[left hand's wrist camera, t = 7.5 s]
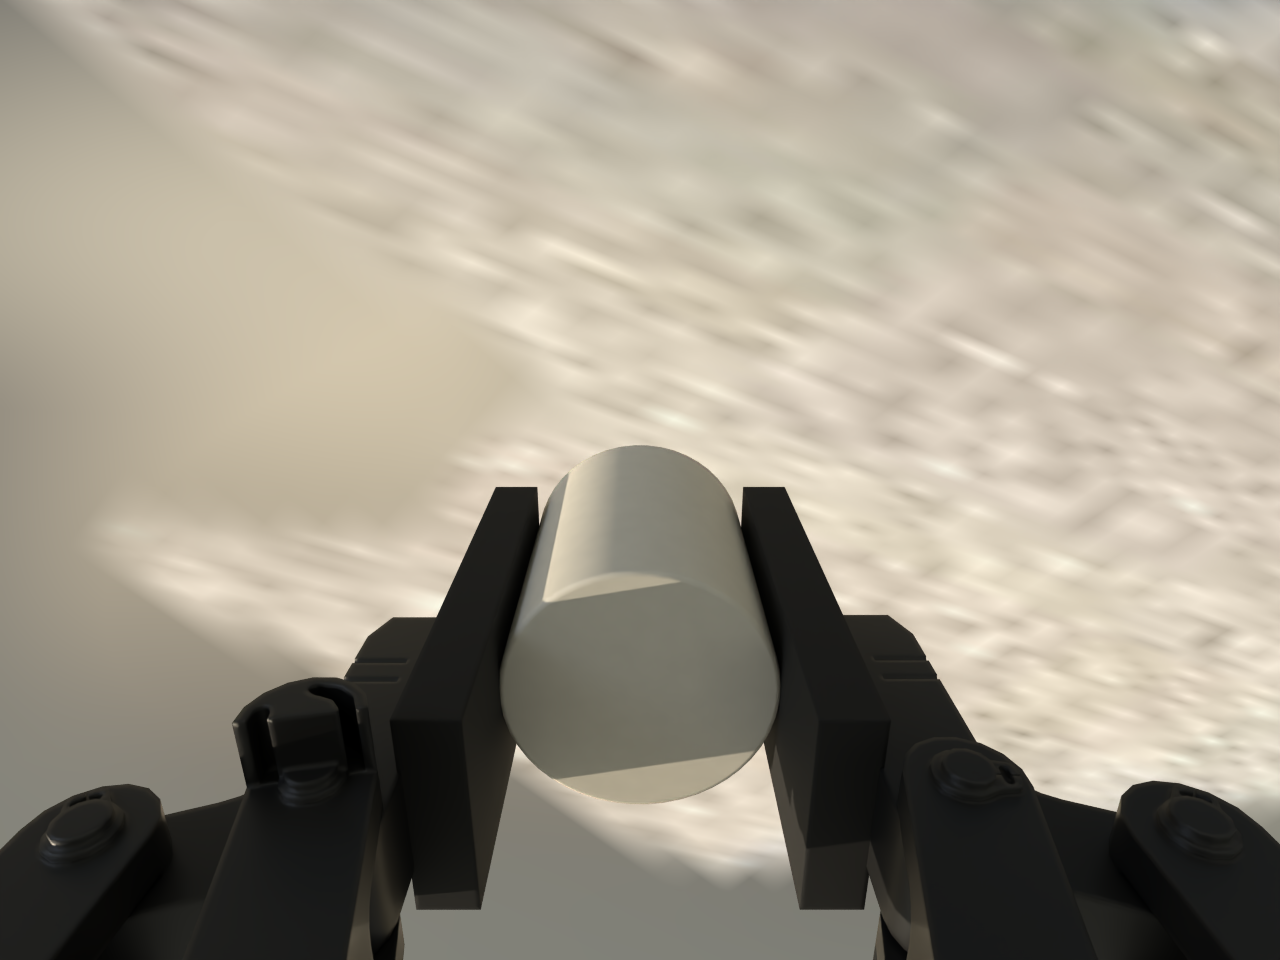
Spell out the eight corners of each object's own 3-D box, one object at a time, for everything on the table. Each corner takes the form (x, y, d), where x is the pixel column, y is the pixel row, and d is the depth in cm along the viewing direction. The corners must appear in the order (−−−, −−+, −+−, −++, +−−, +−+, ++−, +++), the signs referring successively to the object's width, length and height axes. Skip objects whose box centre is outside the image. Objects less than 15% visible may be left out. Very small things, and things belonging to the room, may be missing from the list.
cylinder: (508, 576, 15) (454, 747, 11) (592, 409, 14) (568, 524, 9) (681, 650, 16) (697, 841, 11) (776, 496, 15) (836, 642, 10)
